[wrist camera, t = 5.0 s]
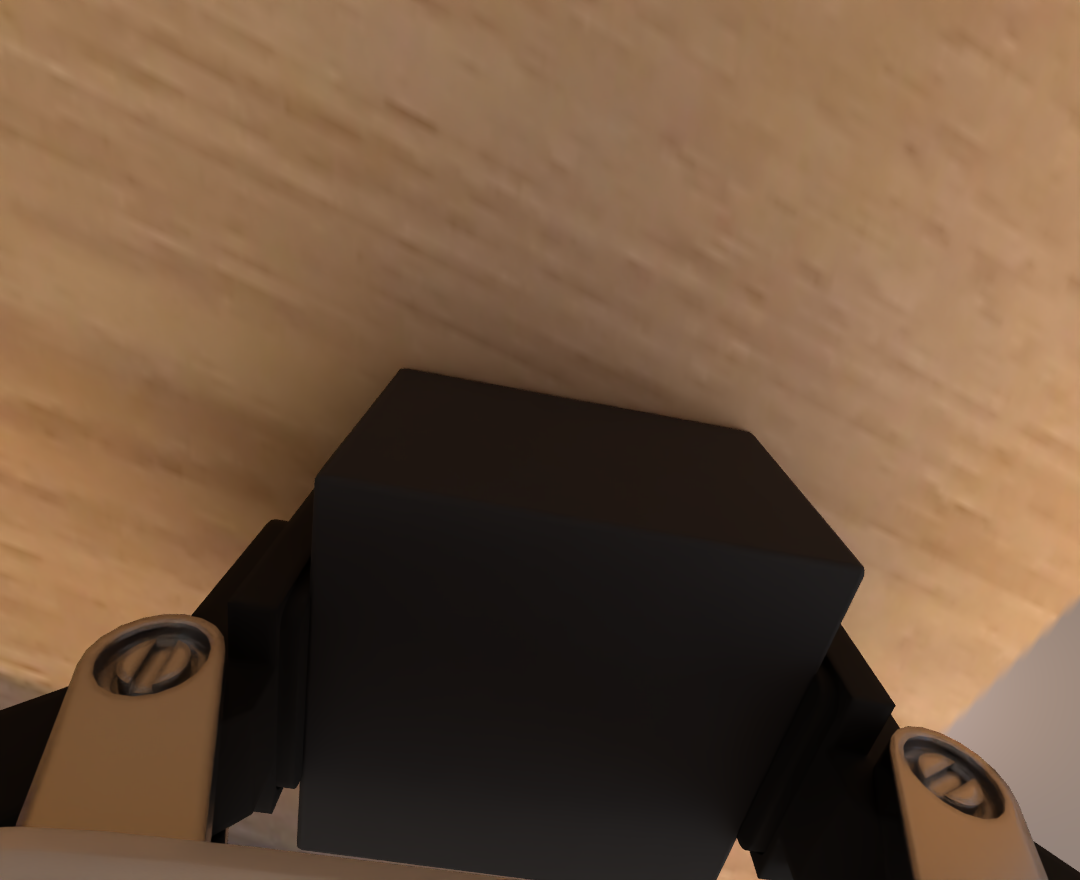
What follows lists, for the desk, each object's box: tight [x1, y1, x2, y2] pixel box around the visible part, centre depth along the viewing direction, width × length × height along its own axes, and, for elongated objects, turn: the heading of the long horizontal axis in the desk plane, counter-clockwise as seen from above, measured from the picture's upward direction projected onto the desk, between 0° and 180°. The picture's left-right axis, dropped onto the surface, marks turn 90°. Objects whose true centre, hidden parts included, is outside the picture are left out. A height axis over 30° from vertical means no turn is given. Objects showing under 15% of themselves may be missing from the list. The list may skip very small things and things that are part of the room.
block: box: [297, 368, 865, 880], centre depth 9 cm, size 6×6×4 cm
